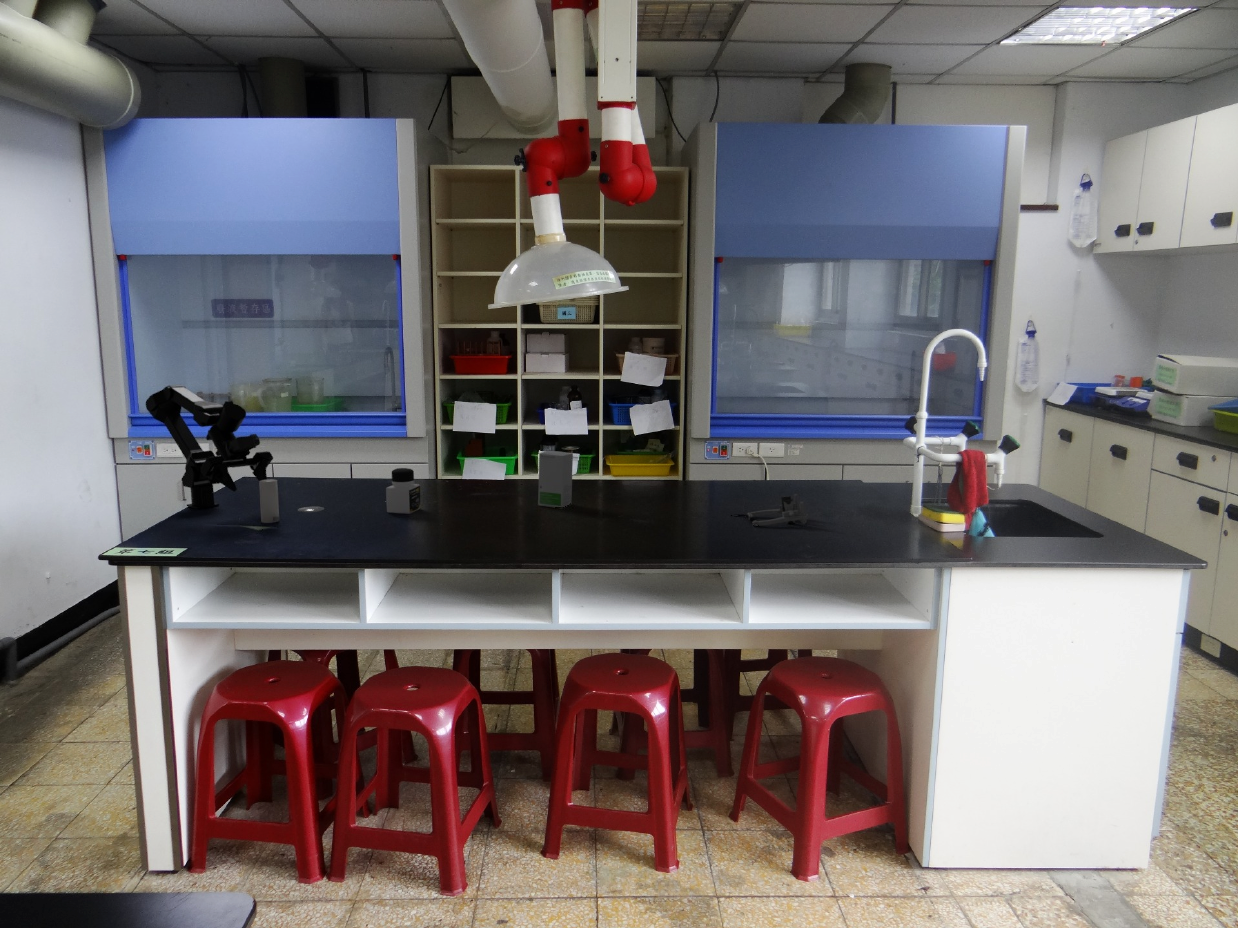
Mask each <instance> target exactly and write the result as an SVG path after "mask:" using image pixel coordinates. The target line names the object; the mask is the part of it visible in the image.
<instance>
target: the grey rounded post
mask: <svg viewBox="0 0 1238 928" xmlns="http://www.w3.org/2000/svg"><path fill="white" fill-rule="evenodd" d="M258 483H259V485H258V487H259V488H258V489H259V502H260V503H259V504H260V505H259V506H260V520H261V523H263V524H273V523H277V522H279V521H280V512H279V511H280V510H279V508H280V507H279V489H278V479H271V478H270V479H267V480H261V481H259V482H258Z"/></svg>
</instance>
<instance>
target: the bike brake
mask: <svg viewBox="0 0 1238 928" xmlns="http://www.w3.org/2000/svg"><path fill="white" fill-rule="evenodd" d="M793 499H794V500H793ZM781 514H782V516H780V517H776V518H773V519H766V520H765V519H764V520H756V519H755V517H757V516H766V515H781ZM735 515H738V516H737V517H745V516H746V517H745V518H748V517H749V518H748V521H751V522H752V523H751V522H750V523H751V524H752V526H753V525H756V526H758V525H759V526H768V525H775V524H781V523H785V524H786V523H795V524H796V521H800V523H801V524H802V525H804V524H806V522H807V521H808V520H809V517H810V516H809V513H806V510H805V503H804V501H800V502H799V496H798V493H797V494H796V493H795V494H793V498H792V497H791V495H790V496H789V495H788V496H783V497H781V504H779V508H773V509H765V510H764V509H763V510H755V511H751V512H747V514H745V513H744V514H743V513H737V514H735ZM759 526H758V527H759Z"/></svg>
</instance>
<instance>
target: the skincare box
mask: <svg viewBox="0 0 1238 928" xmlns="http://www.w3.org/2000/svg"><path fill="white" fill-rule="evenodd" d="M538 456H539V458H538V461H539V462H538V497H537V499H538V501H537V505H538V506H540V507H548V508H549V507H550V508H555V507H564V508H566V507H568V506H567V505H569V504H570V503H571V504H572V495H573V494H572V493H573V492H572V491H573V490H572V489H573V464H574V463H573V461H574V453H573V452H564V451H556V450H546V451H542V452H540V453H539V454H538ZM565 506H566V507H565ZM569 506H570V505H569Z"/></svg>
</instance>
